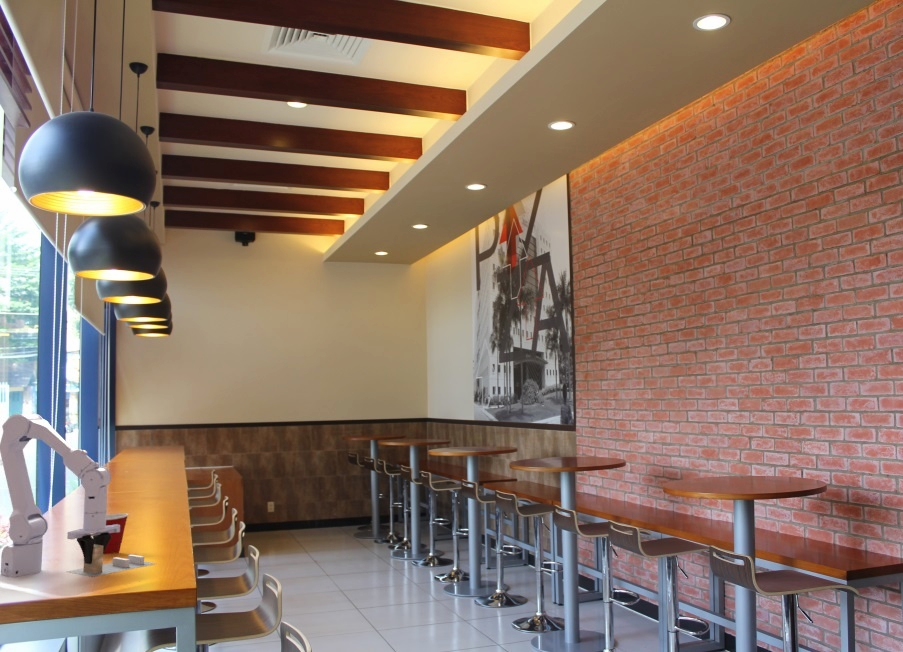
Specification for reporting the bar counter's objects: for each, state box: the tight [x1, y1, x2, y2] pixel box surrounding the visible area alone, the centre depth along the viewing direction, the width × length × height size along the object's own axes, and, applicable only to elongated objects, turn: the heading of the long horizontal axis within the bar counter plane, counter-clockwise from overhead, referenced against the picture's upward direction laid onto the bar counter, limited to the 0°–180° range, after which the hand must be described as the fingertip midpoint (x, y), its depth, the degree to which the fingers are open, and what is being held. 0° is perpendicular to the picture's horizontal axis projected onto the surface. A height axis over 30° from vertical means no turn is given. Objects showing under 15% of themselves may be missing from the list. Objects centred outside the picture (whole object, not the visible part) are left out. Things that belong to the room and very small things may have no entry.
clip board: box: [66, 554, 157, 578], centre depth 221 cm, size 20×12×3 cm, turn 147°
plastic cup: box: [99, 513, 129, 555], centre depth 246 cm, size 11×11×12 cm
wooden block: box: [82, 544, 104, 573], centre depth 216 cm, size 2×5×7 cm, turn 57°
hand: (93, 562), depth 216 cm, fingers closed on wooden block, 2 cm apart
